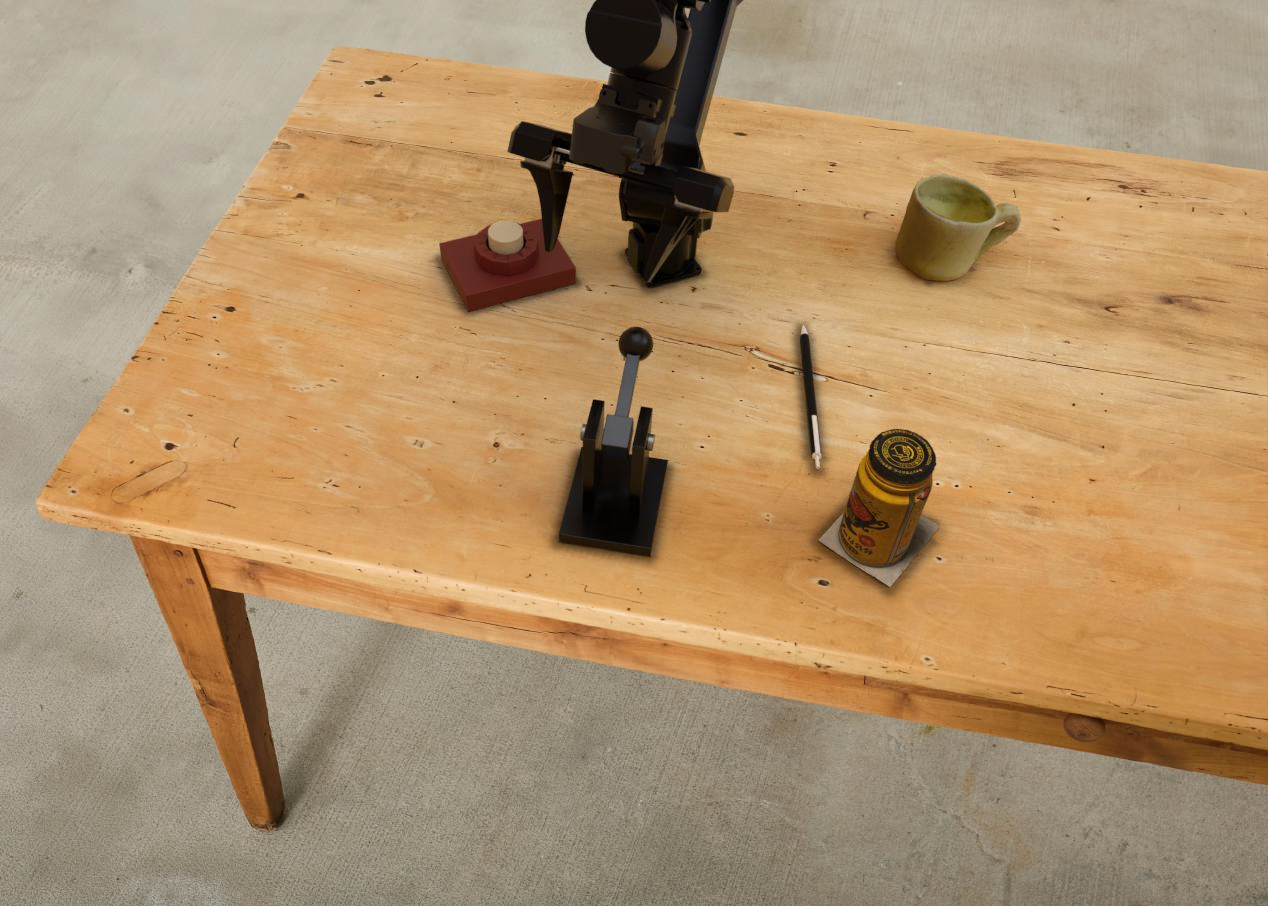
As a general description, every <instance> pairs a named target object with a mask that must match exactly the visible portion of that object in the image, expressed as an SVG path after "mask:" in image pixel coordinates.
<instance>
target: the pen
mask: <svg viewBox="0 0 1268 906" xmlns="http://www.w3.org/2000/svg"><path fill="white" fill-rule="evenodd" d="M809 335H810V334H809V333H808V330H807V328H806V326H805V324H802V326H801V331H800V335H799V339H800V340H799V341H800V348H801V349H800V350H801V360H802V367H803V368H802V369H803V370H802V371H803V379H804V390H805V398H806V399H805V400H806V409H807V420H808V429H809V439H810V441H809V442H810V450H811V459H812V460H814V463H815V469H816V470H819V469H821V466H820V465H821V464H820V463H821V462H820V460H821V459H822V449H821V439H820V437H821V436H820V429H819V420H818V411H817V399H816V392H815V382H814V372H813V363H812V353H811V344H810V336H809Z"/></svg>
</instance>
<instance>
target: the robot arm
mask: <svg viewBox="0 0 1268 906" xmlns="http://www.w3.org/2000/svg"><path fill="white" fill-rule="evenodd" d="M743 1H744V0H595V1H594V2H593V3H592V5H591V7H590V9H589V10H588V12H587V13H586V18H585V23H584V33H585V39H586V44H587V45H588V47H589V50H590V51H591V53H592V55H593V56H594V57H595V58H596V59H597V60H598V61H599V62H600V63H602V64H603V65H605V66H608V67H609V68H610V72H609V75H608V80H607V82H606V83H607V84H606V83H602V86H601V89H600V90H599V94H598V98H597V101H596V103H595V104H594V106H591V107H588V108H587V109H586V110H584V111H582V112H581V113H580V114H578V115H576V116H575V117H574V118H573V120H572V129H571V132H567V131H563V130H560V129H557V128H553V127H550V126H547V125H543V124H538V123H534V122H529V121H523V120H522V121H520V122H519V123H518V124H516V125H515V126H514V128H513V130H512V131H511V132H510V138H509V142H508V147H507V150H506V152H507V153H509V154H511V155H512V154H513V155H514V156H518V157H521V158H524V160H520V161H519V163H520V168H522V169H525V170H527V171H529V173H530V175H531V177H532V180H533V181H534V184H535V186H536V190H537V195H538V201H539V206H540V217H541V219H542V226H543V236H544V246H545V251H546V252H549V253H550V252H553V250H554V248H555V245H556V242H557V239H558V240H559V237H560V232H561V227H562V225H563V219H564V214H565V210H566V205H567V201H568V197H569V193H570V189H571V185H572V179H573V177H574V176H573V175H574V171H571V170H568V169H565V165H567V163H569V164H573V165H576V166H580V167H583V168H586V169H590V170H594V171H597V172H600V173H604V174H607V175H610V176H613V177H618V178H620V183H619V188H618V202H619V209H620V216H621V221H622V222H630V223H632V228H631V229H629V230H628V235H627V237H628V238H627V247H626V248H625V249H624V254H625V256H626V258H627V261H628V263H629V264H630V266H631V267H632V269H633V270H634V272H635V273H636V274H637V275H638V276H639V277H640V278H641V280H642V282H643V283H644V285H645V286H646V287H648V288H654V287H659V286H662V285H665V284H670V283H673V282H678V281H680V280H684V279H688V278H692V277H695V276H698V275H701V274H702V271H703V269H702V266H701V265H700V264H699V262H698V261H697V260H696V255H697V247H698V246H697V245H698V239H700V237H701V235H702V234H703V232H707V231H710V230H711V229H712V227H713V220H714V213H729V211H730V208H731V205H732V200H733V197H734V195H735V194H734V193H735V185H734V183H733V181H732V179H731V178H730V177H727V176H724V175H721V174H716V173H713V172H709V171H707V169H706V165H705V161H704V158H703V155H702V150H701V147H700V145H701V140H702V137H703V133H704V129H705V126H706V123H707V118H708V115H709V111H710V107H711V105H712V104H711V103H712V101H713V97H714V92H715V88H716V85H717V81H718V78H719V74H720V71H721V68H722V67H721V66H722V63H723V59H724V55H725V53H726V52H725V51H726V48H727V44H728V41H729V38H730V37H729V36H730V33H731V29H732V25H733V22H734V18H735V15H736V11H737V8H738V6H739V5H740V4H741V3H742V2H743ZM686 9H689V12H688V16H687V13H686Z"/></svg>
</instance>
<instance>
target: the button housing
mask: <svg viewBox="0 0 1268 906" xmlns="http://www.w3.org/2000/svg"><path fill="white" fill-rule="evenodd" d="M517 223H518V224H519V225H520V226H521V227H522V229H523V247H522V249H521V250H520V251H519V252H517V253H514V254H510V255H501V254H496V253H494V252H493V251H492V250H491V249H490V247H489V241H488V229H489V227H490V226H491V225H492V224H489V225H487V226H485V227H484V228H483V229H481V230H480V231H478V232H477V233H476V234H473V235H472V234H471V235H468V236H463V237H459V238H455V239H452V240H448V241H443V242H440V243H439V244H438V245H439V253H440V260H441V262H442V264H443V266H444V268H445V270H446V271H447V273H448V276H449V277H450V279H451V282H452V284H453V285H454V288H455V289H456V292H457V293H458V296H459V297H460V299H461V301H462V303H463V305H464V307H465V310H466V311H467V312H468V313H469V312H472V311H477V310H480V309H484V308H488V307H492V306H495V305H500V304H503V303H507V302H511V301H514V300H519V299H523V298H526V297H530V296H533V295H534V296H535V295H537V294H541V293H545V292H548V291H551V290H556V289H560V288H564V287H567V286H570V285H575V284H577V278H576V277H577V276H576V275H577V269H576V268H577V267H576V265H575V264H574V262H573V261H572V259H571V258H570V256H569V254H568V253H567V251H566V249H565V248H564V247H563V245H562V243H561V241H560V240H559V238H558V239H557V242H556V245H555V248H554V250H553V252H550V253H549V252H546V251H545V246H544V236H543V226H542V218H538V219H534V220H530V221H526V222H522V223H519V222H517Z"/></svg>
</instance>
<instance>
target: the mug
mask: <svg viewBox="0 0 1268 906" xmlns="http://www.w3.org/2000/svg"><path fill="white" fill-rule="evenodd" d="M1021 221H1022V217H1021V212H1020V209H1019V207H1018V206H1017V205H1015V204H1012V203H1009V202H1002V203H999V204H997V205H996V204H995V201H994V200H993V198H992V195H990V194H989V193H988V192H986V190H985V189H983V188H982V187H980V185H978V184H976V183H974V182H972V181H970V180H967V179H965V178H962V177H958V176H954V175H950V174H937V173H936V174H932V175H930V176H928V177H924V178H921V179H920V180H919V181H917V182H916V184H915V186H914V188H913V190H912V191H911V195H910V198H909V201H908V203H907V205H906V208H905V213H904V215H903V219H902V222H901V225H900V228H899V230H898V234H897V236H896V238H895V245H894V248H895V249H894V250H895V254H896V256H897V258H899V260H900V262H901V263H902V264H903V265H904V267H907V268H908V269H909V270H910V271H911V272H913V273H914V274H916V275H917V276H918V277H920V278H921V279H924V280H926V281H937V282H938V281H945V282H946V281H954V280H958V279H960V278H962V277H963V276H965V275H966V274H967V273H968V272H969V270H970V268H971V267H972V266H973V264H975V262H977V261H978V260H979V259H981V257H982V256H983V255H985V254H986V252H988V251H990V249H992V248H993V247H994V246H998V245H999V244H1000V243H1002V242H1003V241H1005V240H1006V239H1007V238H1009V237H1010V236H1013V234H1014V233H1016V232H1018V230H1019V227H1020V225H1021ZM1001 223H1002V224H1001ZM999 224H1000V225H999Z"/></svg>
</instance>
